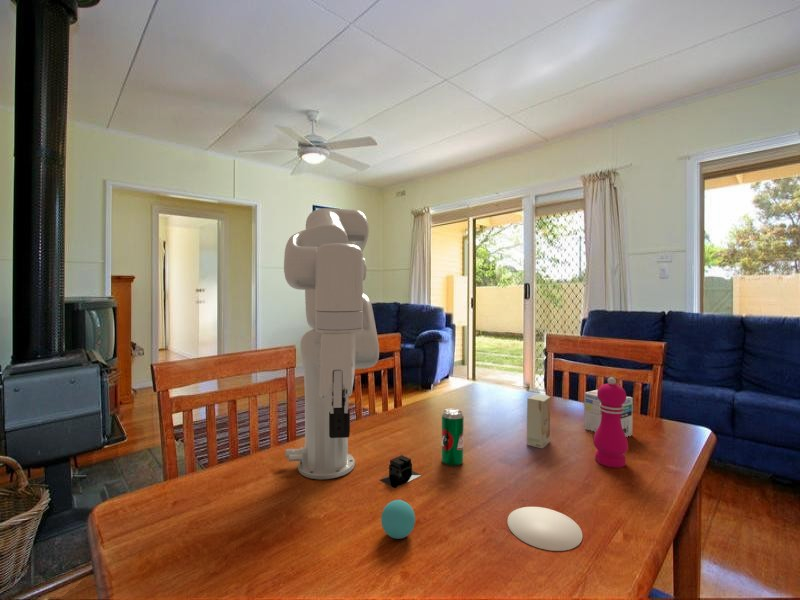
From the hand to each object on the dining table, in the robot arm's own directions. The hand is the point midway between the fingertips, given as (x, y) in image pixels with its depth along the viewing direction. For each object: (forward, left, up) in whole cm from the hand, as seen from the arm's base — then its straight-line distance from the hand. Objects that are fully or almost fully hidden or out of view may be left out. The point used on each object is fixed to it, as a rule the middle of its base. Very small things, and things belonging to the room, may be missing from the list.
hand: (339, 435), depth 64 cm
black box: (+12, +20, -18) cm, 29 cm away
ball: (+9, 0, -14) cm, 17 cm away
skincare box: (+49, +35, -17) cm, 63 cm away
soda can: (+24, +26, -17) cm, 40 cm away
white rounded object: (+34, 0, -17) cm, 39 cm away
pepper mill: (+61, +23, -17) cm, 68 cm away
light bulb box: (+72, +41, -17) cm, 85 cm away
